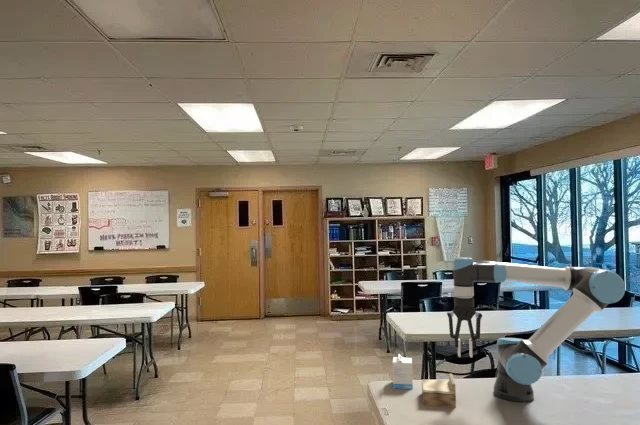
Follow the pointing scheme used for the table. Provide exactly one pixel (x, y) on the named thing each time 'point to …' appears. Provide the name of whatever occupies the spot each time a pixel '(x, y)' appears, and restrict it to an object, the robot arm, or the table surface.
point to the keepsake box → (439, 399)
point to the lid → (439, 386)
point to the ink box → (402, 372)
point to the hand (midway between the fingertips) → (465, 356)
